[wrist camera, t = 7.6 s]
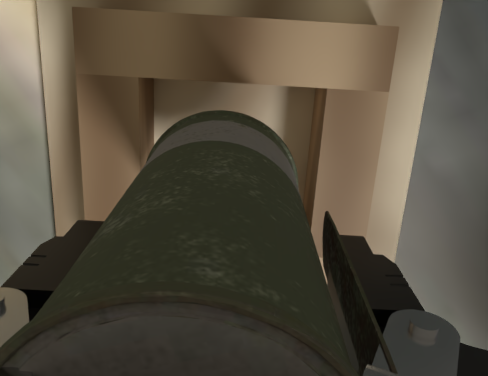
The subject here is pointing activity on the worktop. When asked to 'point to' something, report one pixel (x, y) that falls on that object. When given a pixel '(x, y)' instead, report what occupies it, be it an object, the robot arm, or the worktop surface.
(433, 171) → the worktop surface
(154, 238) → the grenade
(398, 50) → the socket block
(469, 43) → the worktop surface
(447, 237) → the worktop surface
